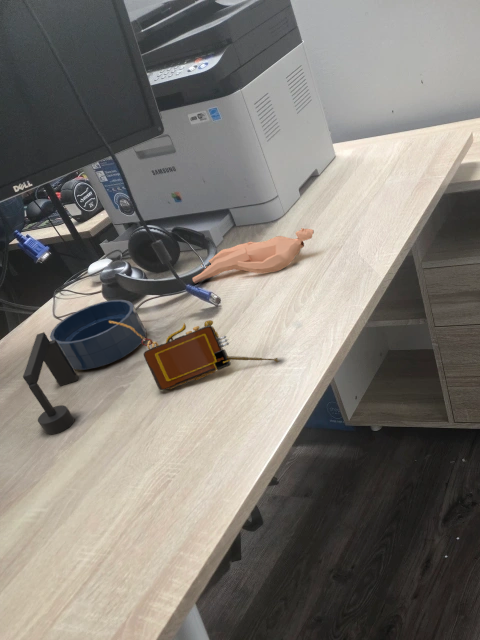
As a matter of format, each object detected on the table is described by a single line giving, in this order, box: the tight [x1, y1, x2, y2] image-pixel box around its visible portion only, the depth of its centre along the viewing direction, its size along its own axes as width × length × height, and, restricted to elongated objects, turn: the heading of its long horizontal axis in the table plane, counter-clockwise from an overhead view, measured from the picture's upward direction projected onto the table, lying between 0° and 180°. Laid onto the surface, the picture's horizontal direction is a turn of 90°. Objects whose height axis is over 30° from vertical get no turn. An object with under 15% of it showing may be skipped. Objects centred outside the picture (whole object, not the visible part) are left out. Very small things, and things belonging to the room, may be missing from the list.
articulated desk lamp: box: [22, 331, 79, 435], centre depth 97 cm, size 16×4×9 cm, turn 16°
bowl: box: [49, 299, 147, 371], centre depth 110 cm, size 14×14×6 cm
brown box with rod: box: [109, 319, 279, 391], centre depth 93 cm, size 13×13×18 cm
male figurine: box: [192, 227, 315, 284], centre depth 124 cm, size 11×5×25 cm
